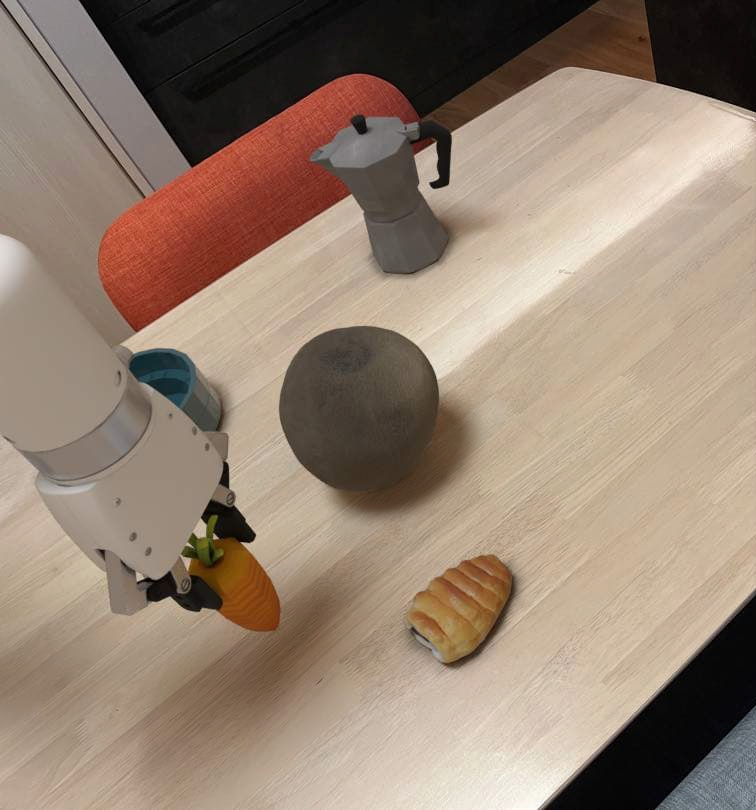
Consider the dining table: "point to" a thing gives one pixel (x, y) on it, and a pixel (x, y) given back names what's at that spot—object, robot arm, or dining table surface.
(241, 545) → the carrot
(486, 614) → the pastry
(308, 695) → the dining table surface
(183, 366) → the bowl
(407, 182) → the coffeepot
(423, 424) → the brown coconut
